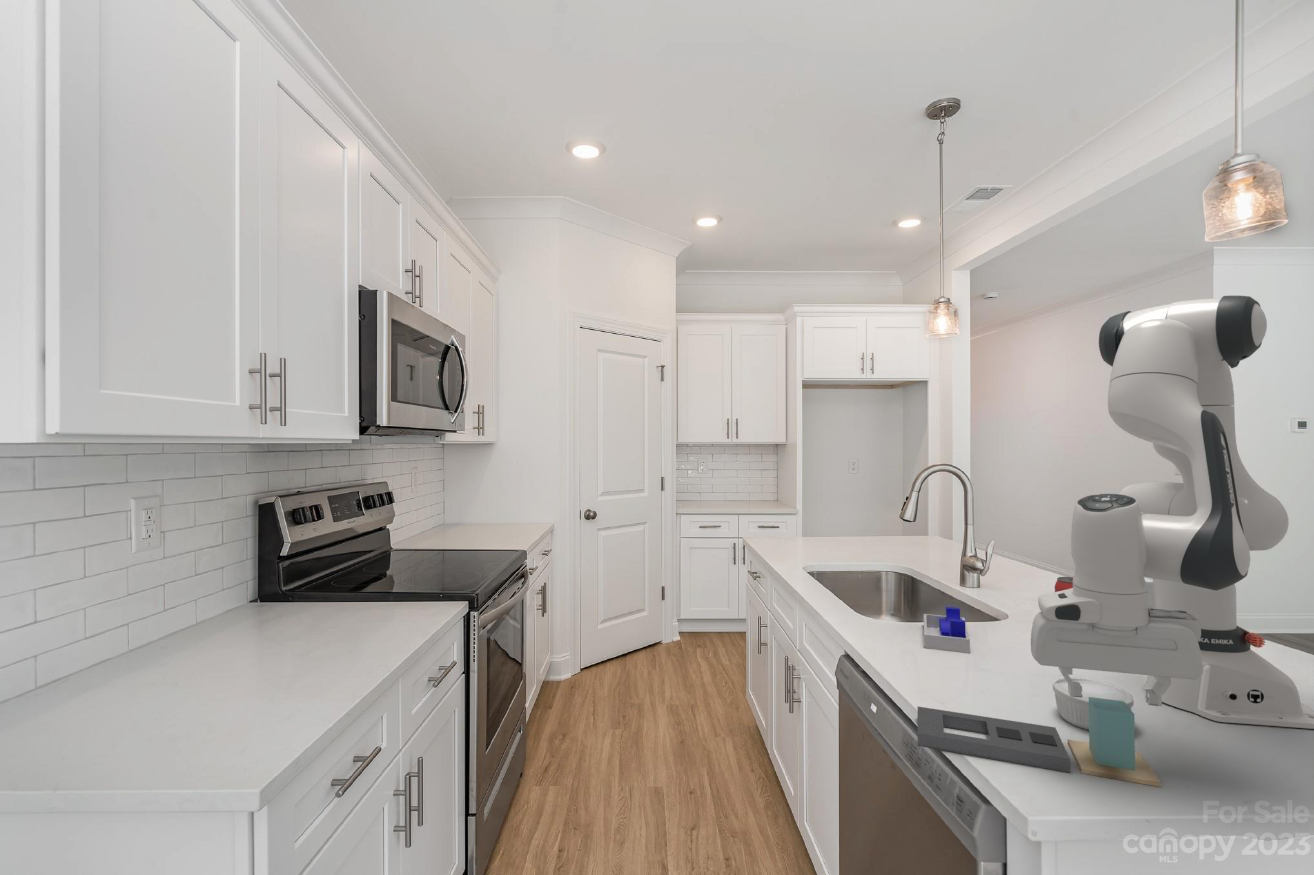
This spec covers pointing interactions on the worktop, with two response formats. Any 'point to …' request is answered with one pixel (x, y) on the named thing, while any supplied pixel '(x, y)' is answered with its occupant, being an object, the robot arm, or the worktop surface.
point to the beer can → (1063, 583)
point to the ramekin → (1085, 699)
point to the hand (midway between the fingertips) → (1113, 700)
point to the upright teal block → (1111, 733)
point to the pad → (1091, 767)
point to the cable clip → (952, 624)
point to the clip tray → (944, 637)
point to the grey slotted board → (993, 739)
